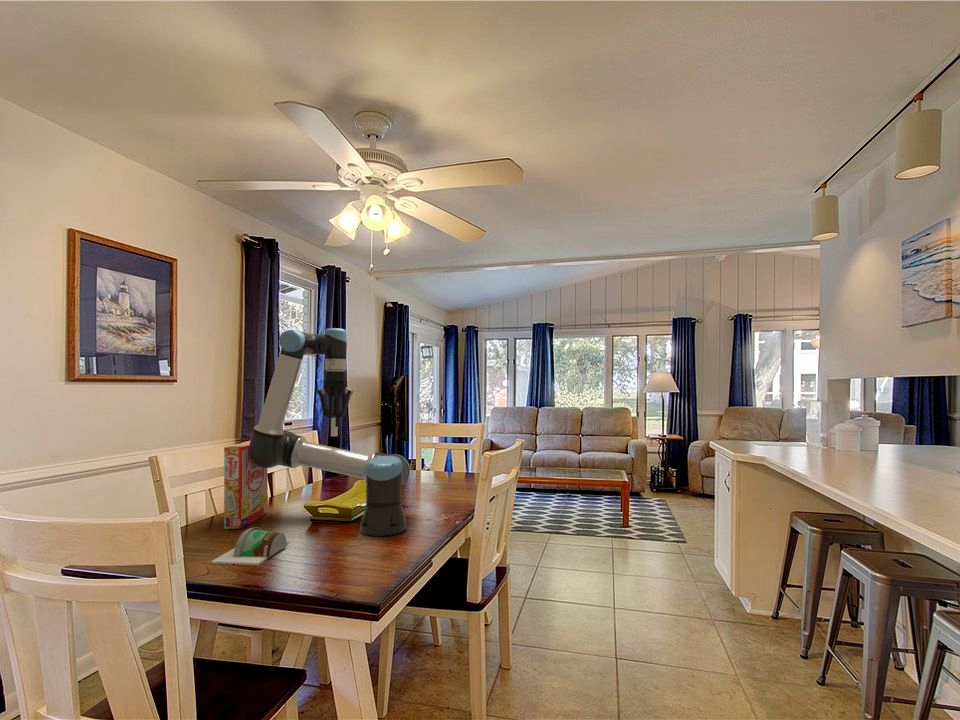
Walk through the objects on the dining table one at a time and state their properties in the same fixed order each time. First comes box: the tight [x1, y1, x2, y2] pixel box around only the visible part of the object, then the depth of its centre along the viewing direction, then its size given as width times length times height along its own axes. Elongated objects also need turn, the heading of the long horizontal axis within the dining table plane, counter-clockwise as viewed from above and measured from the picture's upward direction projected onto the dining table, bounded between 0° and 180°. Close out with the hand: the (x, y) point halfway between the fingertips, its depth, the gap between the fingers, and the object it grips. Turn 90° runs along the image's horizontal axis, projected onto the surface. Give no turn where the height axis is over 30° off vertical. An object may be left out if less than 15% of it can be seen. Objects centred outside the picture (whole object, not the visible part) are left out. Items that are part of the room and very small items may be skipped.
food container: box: [234, 526, 288, 558], centre depth 143 cm, size 12×6×10 cm
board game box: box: [223, 441, 269, 530], centre depth 175 cm, size 20×6×27 cm, turn 0°
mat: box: [210, 541, 290, 566], centre depth 142 cm, size 13×18×1 cm
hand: (334, 435), depth 181 cm, fingers closed
